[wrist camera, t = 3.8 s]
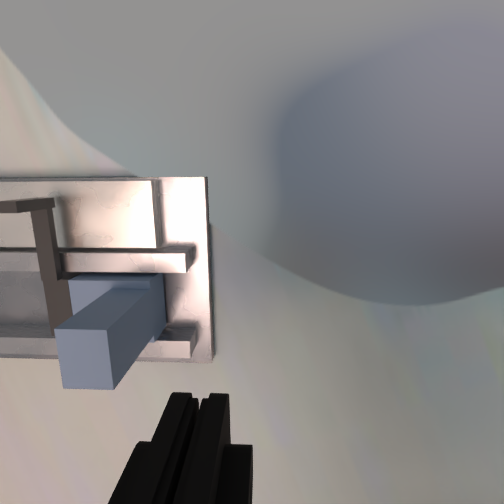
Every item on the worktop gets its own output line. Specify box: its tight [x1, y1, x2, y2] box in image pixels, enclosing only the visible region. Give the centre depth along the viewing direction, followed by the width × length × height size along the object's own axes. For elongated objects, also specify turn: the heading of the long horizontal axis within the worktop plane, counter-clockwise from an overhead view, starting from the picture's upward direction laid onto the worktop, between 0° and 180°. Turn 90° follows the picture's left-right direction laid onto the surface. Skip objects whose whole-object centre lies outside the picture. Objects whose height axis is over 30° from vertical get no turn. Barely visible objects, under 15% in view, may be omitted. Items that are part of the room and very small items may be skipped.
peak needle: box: [0, 197, 83, 336], centre depth 20 cm, size 2×9×5 cm, turn 0°
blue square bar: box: [54, 272, 166, 390], centre depth 19 cm, size 5×4×8 cm
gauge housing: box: [0, 177, 214, 363], centre depth 21 cm, size 25×13×6 cm, turn 90°
